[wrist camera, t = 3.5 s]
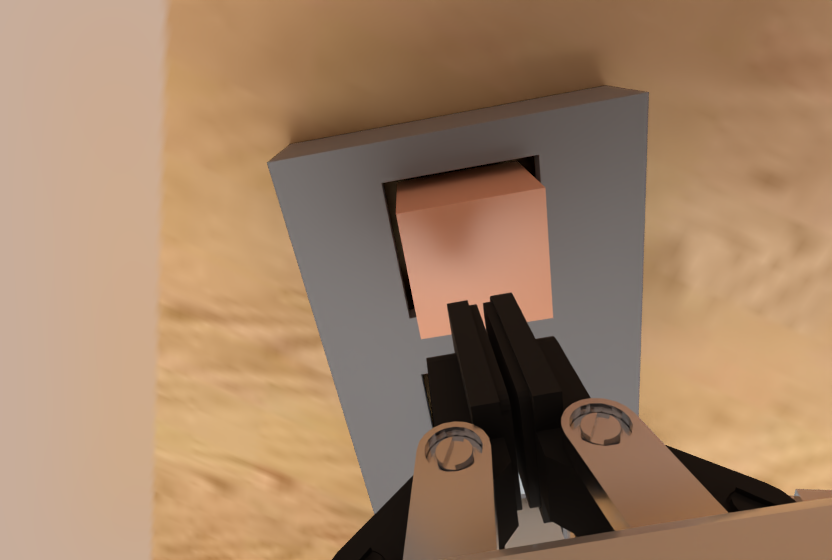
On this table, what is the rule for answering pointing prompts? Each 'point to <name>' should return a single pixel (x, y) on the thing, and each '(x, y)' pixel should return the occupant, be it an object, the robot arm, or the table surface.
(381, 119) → the table surface
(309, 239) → the button panel
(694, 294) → the table surface
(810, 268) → the table surface
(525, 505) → the cream button
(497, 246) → the terracotta button
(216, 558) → the table surface
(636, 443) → the robot arm
